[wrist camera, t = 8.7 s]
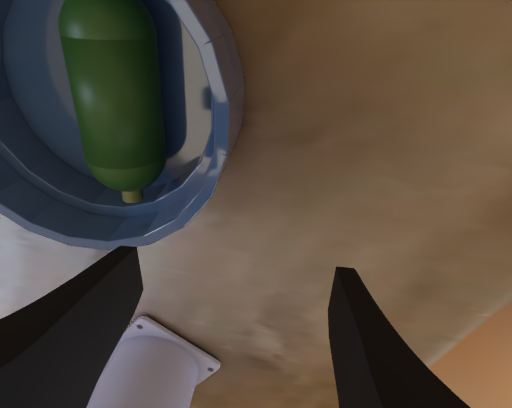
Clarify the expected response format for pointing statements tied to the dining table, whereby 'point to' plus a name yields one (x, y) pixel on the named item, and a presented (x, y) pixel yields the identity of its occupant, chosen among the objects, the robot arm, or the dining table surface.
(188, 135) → the bowl
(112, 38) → the zucchini
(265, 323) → the dining table surface
